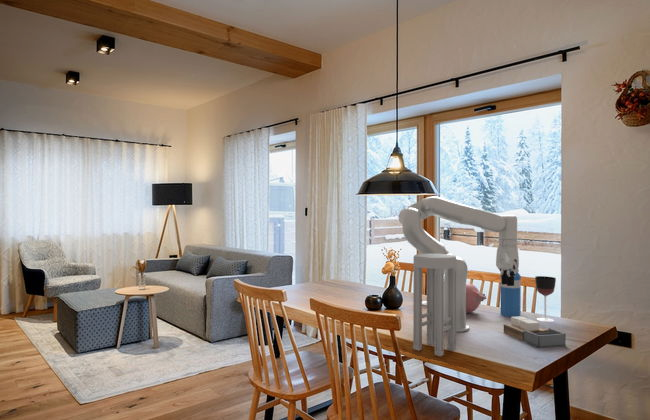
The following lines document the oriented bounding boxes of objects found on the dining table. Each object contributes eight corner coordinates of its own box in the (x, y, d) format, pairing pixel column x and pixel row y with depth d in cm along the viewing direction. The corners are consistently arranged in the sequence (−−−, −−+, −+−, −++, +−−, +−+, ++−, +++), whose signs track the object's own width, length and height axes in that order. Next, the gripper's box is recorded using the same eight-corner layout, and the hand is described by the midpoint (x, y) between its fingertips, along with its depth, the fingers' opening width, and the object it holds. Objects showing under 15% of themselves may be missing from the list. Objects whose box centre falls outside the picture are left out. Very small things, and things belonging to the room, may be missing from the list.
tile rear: (518, 327, 180) (518, 319, 180) (511, 323, 185) (511, 316, 185) (529, 326, 181) (529, 319, 181) (521, 323, 186) (521, 316, 186)
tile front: (528, 330, 175) (528, 323, 175) (520, 327, 179) (520, 320, 179) (539, 330, 176) (539, 322, 176) (530, 326, 181) (530, 319, 181)
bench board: (522, 340, 173) (522, 332, 173) (503, 332, 184) (503, 324, 184) (548, 338, 176) (548, 330, 176) (527, 330, 187) (528, 322, 187)
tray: (538, 347, 164) (538, 335, 164) (523, 341, 172) (523, 329, 172) (565, 345, 167) (565, 333, 167) (549, 339, 175) (549, 328, 175)
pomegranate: (475, 320, 205) (475, 287, 205) (442, 311, 222) (442, 281, 222) (495, 315, 214) (495, 284, 214) (462, 307, 231) (462, 278, 231)
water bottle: (522, 317, 210) (523, 265, 210) (502, 316, 212) (502, 265, 212) (518, 313, 219) (518, 263, 219) (498, 312, 221) (498, 263, 221)
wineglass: (554, 322, 201) (555, 279, 200) (534, 320, 205) (534, 277, 205) (556, 319, 207) (556, 277, 207) (536, 316, 212) (536, 275, 212)
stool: (405, 349, 162) (405, 255, 162) (428, 340, 173) (428, 252, 173) (442, 359, 151) (442, 258, 151) (464, 349, 162) (464, 255, 162)
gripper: (489, 242, 198) (489, 282, 198) (512, 244, 182) (512, 288, 182) (503, 241, 200) (503, 281, 200) (528, 244, 184) (527, 287, 184)
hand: (507, 284), depth 191 cm, fingers open, 3 cm apart
